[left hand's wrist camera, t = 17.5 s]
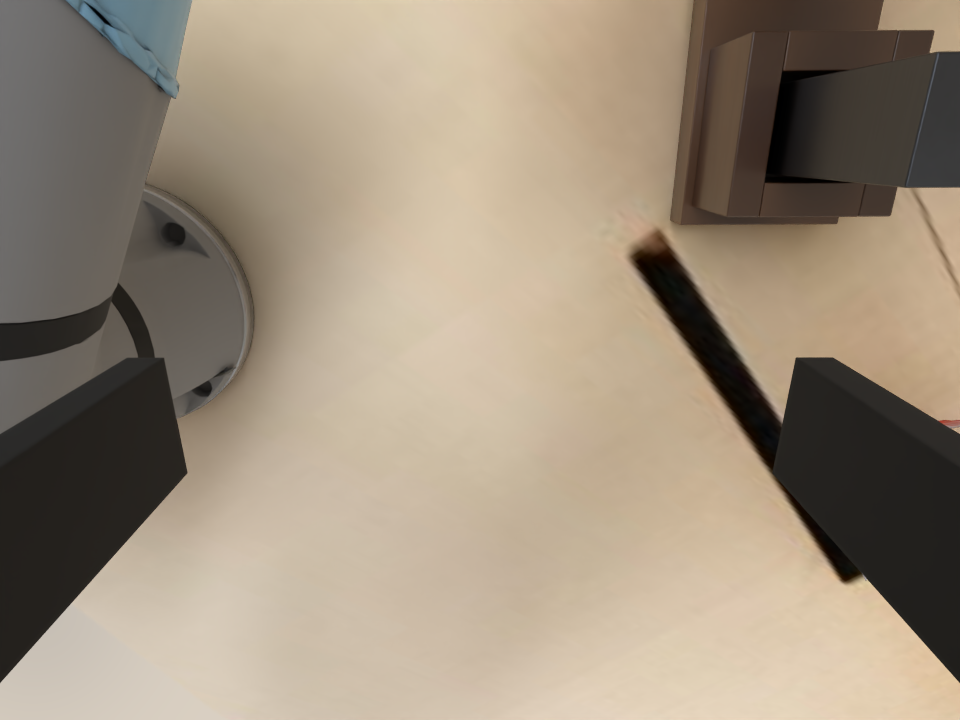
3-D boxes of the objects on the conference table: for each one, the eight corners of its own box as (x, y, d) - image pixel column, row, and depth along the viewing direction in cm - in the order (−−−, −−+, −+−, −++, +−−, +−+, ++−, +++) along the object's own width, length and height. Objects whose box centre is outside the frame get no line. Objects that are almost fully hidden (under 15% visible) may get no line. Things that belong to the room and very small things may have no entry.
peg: (731, 170, 32) (905, 187, 19) (742, 91, 31) (938, 51, 18) (803, 169, 32) (1026, 187, 19) (817, 90, 31) (1069, 50, 18)
